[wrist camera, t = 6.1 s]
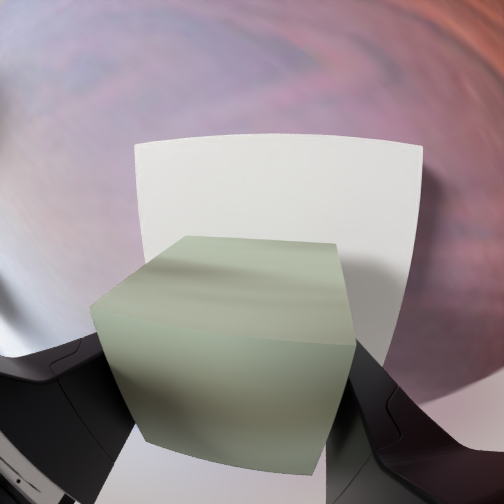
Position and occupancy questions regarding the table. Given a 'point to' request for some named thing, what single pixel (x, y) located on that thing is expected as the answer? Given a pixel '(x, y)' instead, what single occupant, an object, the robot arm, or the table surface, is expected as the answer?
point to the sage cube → (233, 349)
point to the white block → (294, 206)
